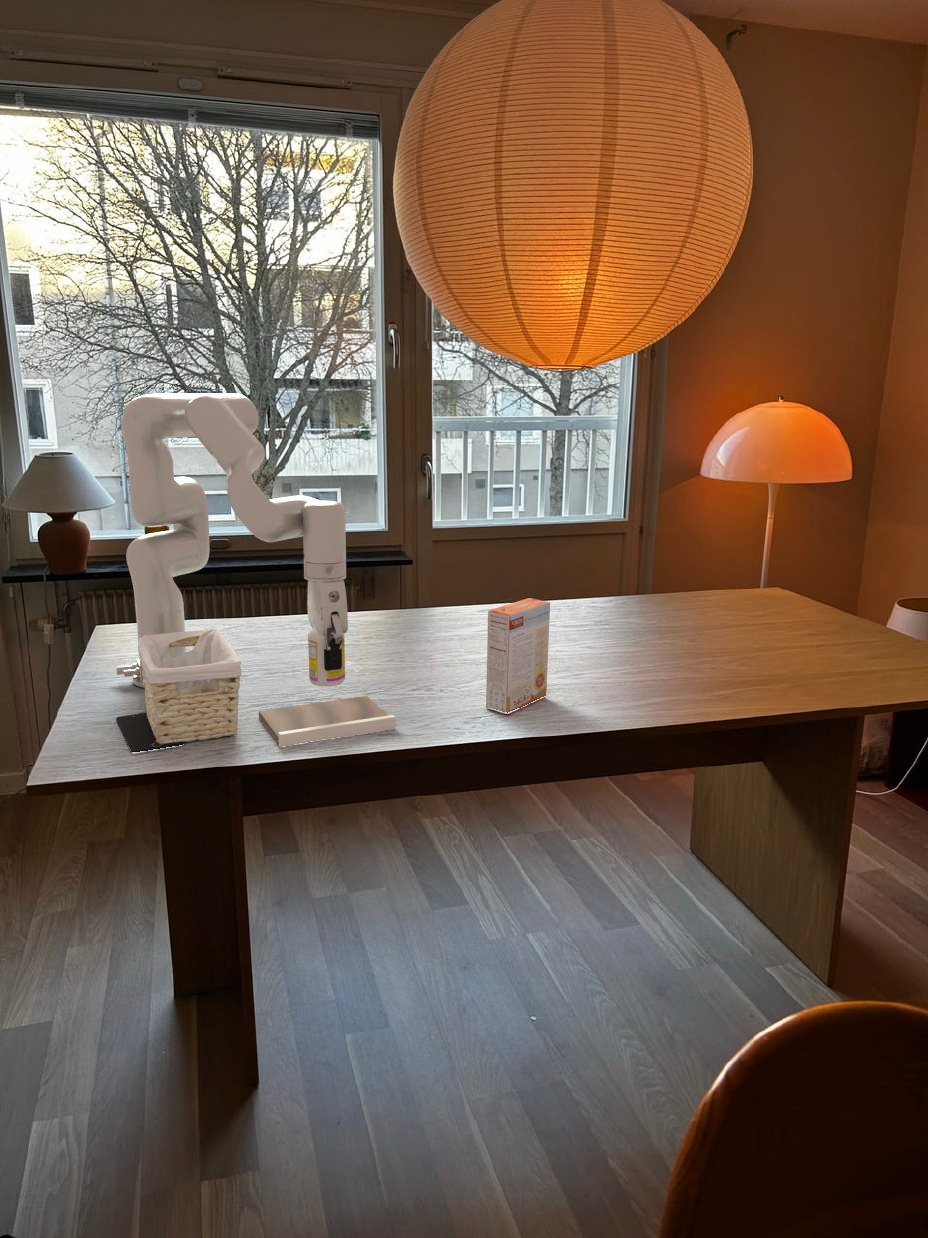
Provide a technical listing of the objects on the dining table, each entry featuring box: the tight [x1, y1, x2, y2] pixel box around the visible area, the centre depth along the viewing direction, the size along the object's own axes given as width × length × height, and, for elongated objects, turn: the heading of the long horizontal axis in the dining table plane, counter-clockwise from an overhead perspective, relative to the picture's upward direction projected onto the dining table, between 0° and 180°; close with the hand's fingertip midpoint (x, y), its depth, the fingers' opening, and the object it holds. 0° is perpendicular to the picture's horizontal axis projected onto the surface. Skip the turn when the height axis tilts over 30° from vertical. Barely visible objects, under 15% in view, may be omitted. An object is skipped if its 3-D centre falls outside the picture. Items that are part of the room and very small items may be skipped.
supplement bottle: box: [307, 618, 346, 687], centre depth 166 cm, size 7×7×13 cm
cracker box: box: [485, 597, 551, 713], centre depth 181 cm, size 14×6×21 cm, turn 141°
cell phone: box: [115, 711, 185, 753], centre depth 164 cm, size 9×18×1 cm, turn 29°
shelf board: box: [258, 695, 389, 745], centre depth 170 cm, size 22×14×2 cm, turn 117°
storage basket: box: [137, 628, 242, 744], centre depth 168 cm, size 24×16×15 cm
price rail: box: [278, 714, 396, 748], centre depth 164 cm, size 22×1×2 cm, turn 117°
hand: (326, 662), depth 166 cm, fingers closed on supplement bottle, 6 cm apart
